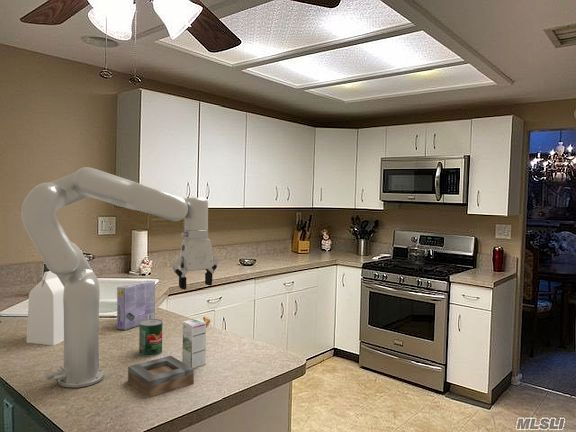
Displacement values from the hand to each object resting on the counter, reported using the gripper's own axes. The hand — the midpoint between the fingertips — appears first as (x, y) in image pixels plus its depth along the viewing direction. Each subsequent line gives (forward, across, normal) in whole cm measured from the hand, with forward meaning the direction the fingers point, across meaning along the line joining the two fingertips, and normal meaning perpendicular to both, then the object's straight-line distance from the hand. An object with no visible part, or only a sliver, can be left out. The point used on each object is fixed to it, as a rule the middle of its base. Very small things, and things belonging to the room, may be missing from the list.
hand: (196, 286), depth 146 cm
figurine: (+26, +10, +11) cm, 30 cm away
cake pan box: (+26, +4, +54) cm, 60 cm away
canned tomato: (+26, -6, +19) cm, 33 cm away
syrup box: (+26, 0, 0) cm, 26 cm away
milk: (+26, -28, +56) cm, 68 cm away
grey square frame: (+26, -16, -6) cm, 31 cm away
